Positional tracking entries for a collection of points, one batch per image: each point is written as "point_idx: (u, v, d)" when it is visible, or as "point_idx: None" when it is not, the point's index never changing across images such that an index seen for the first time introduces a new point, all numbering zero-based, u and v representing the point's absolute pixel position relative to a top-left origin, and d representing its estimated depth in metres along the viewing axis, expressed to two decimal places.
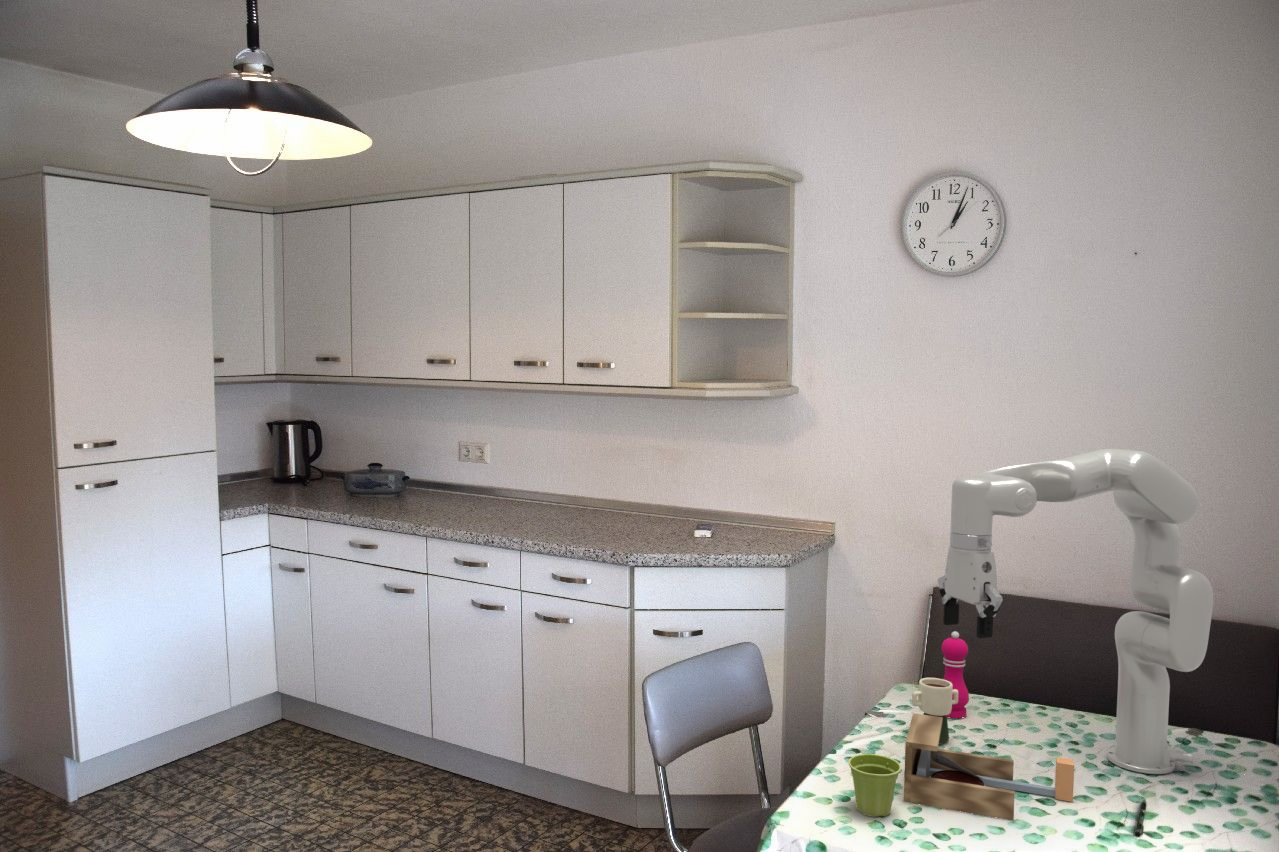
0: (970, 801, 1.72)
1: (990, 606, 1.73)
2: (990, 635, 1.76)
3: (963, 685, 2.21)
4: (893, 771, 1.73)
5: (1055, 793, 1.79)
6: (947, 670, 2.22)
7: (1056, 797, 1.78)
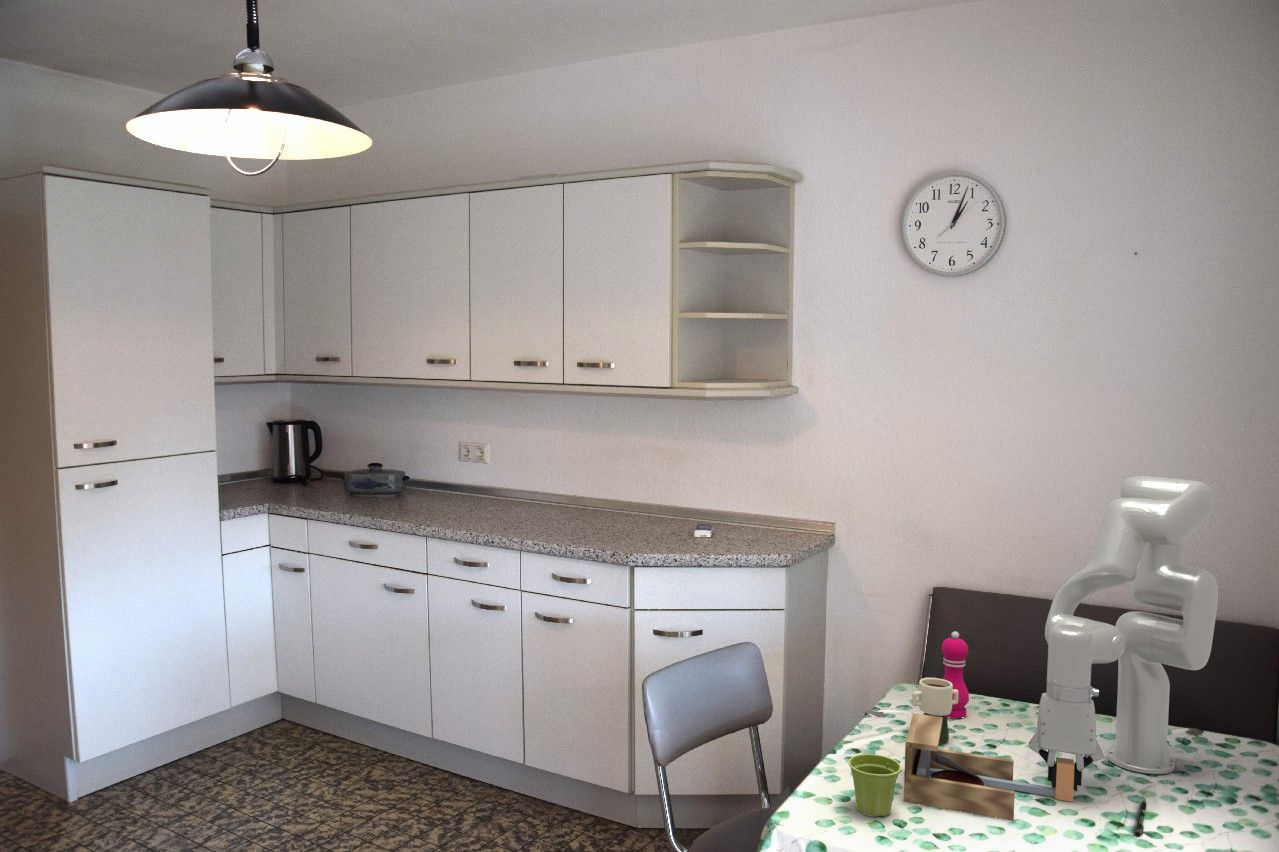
0: (970, 801, 1.72)
1: (1090, 758, 1.77)
2: None
3: (963, 685, 2.21)
4: (893, 771, 1.73)
5: (1055, 793, 1.79)
6: (947, 670, 2.22)
7: (1056, 797, 1.78)
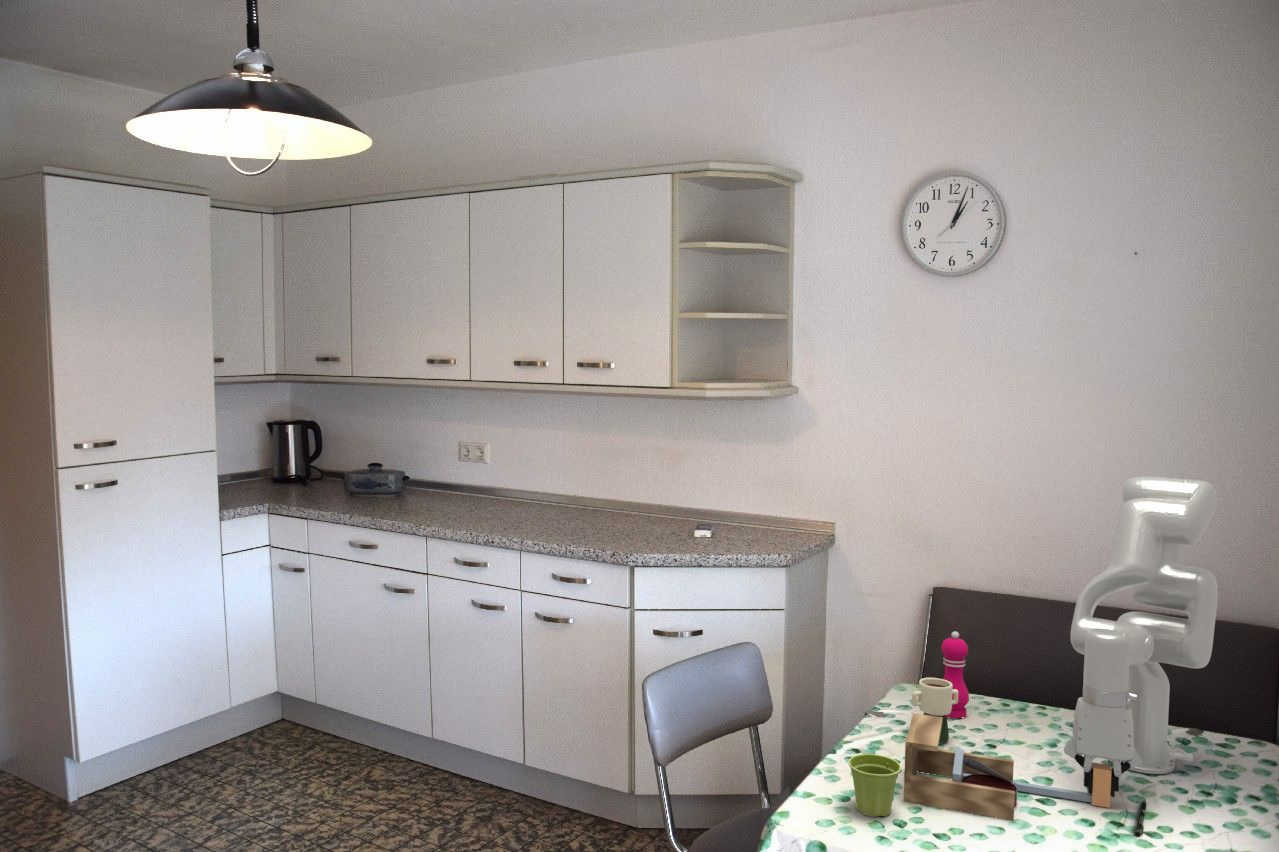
0: (970, 801, 1.72)
1: (1127, 764, 1.74)
2: None
3: (963, 685, 2.21)
4: (893, 771, 1.73)
5: (1091, 799, 1.77)
6: (947, 670, 2.22)
7: (1093, 803, 1.76)
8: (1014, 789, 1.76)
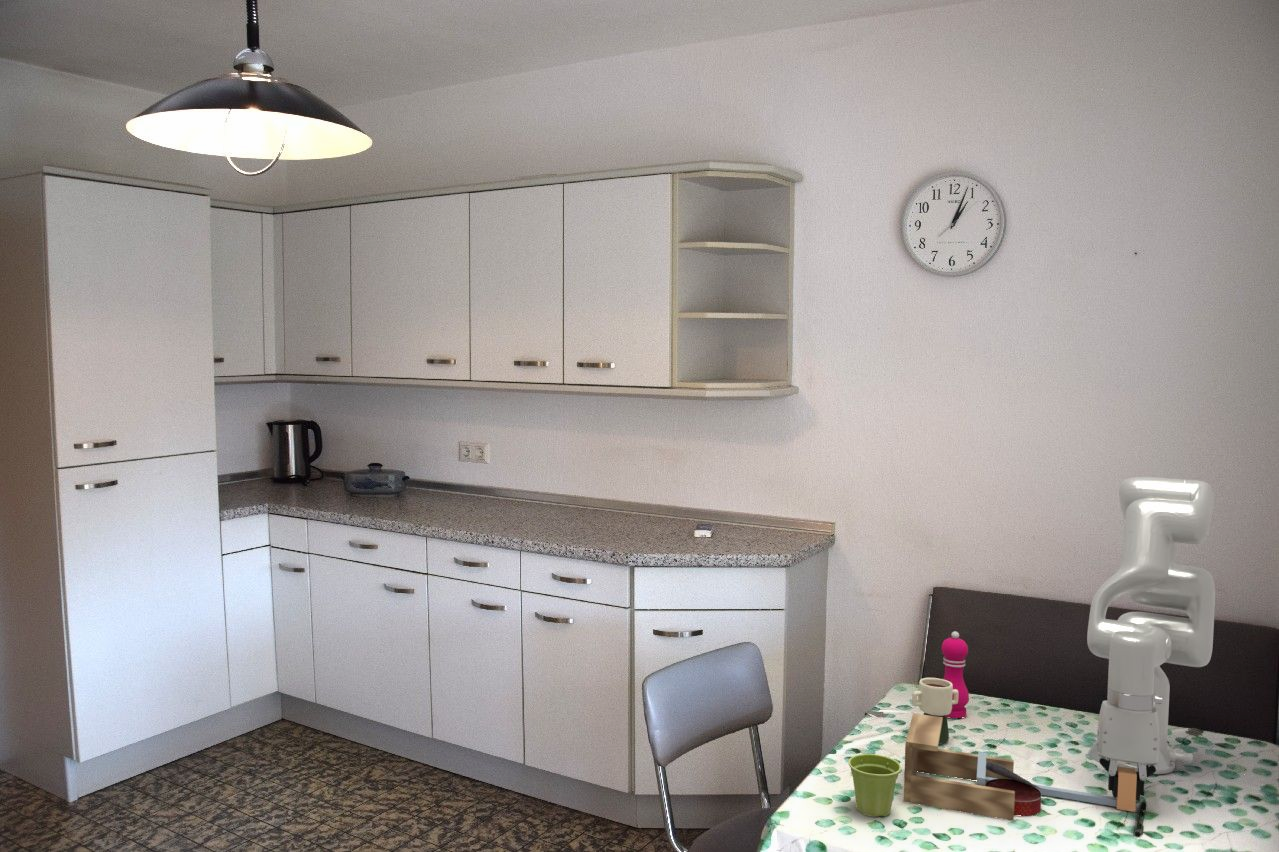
0: (970, 801, 1.72)
1: (1153, 768, 1.73)
2: None
3: (963, 685, 2.21)
4: (893, 771, 1.73)
5: (1116, 803, 1.75)
6: (947, 670, 2.22)
7: (1118, 807, 1.75)
8: (1038, 794, 1.75)
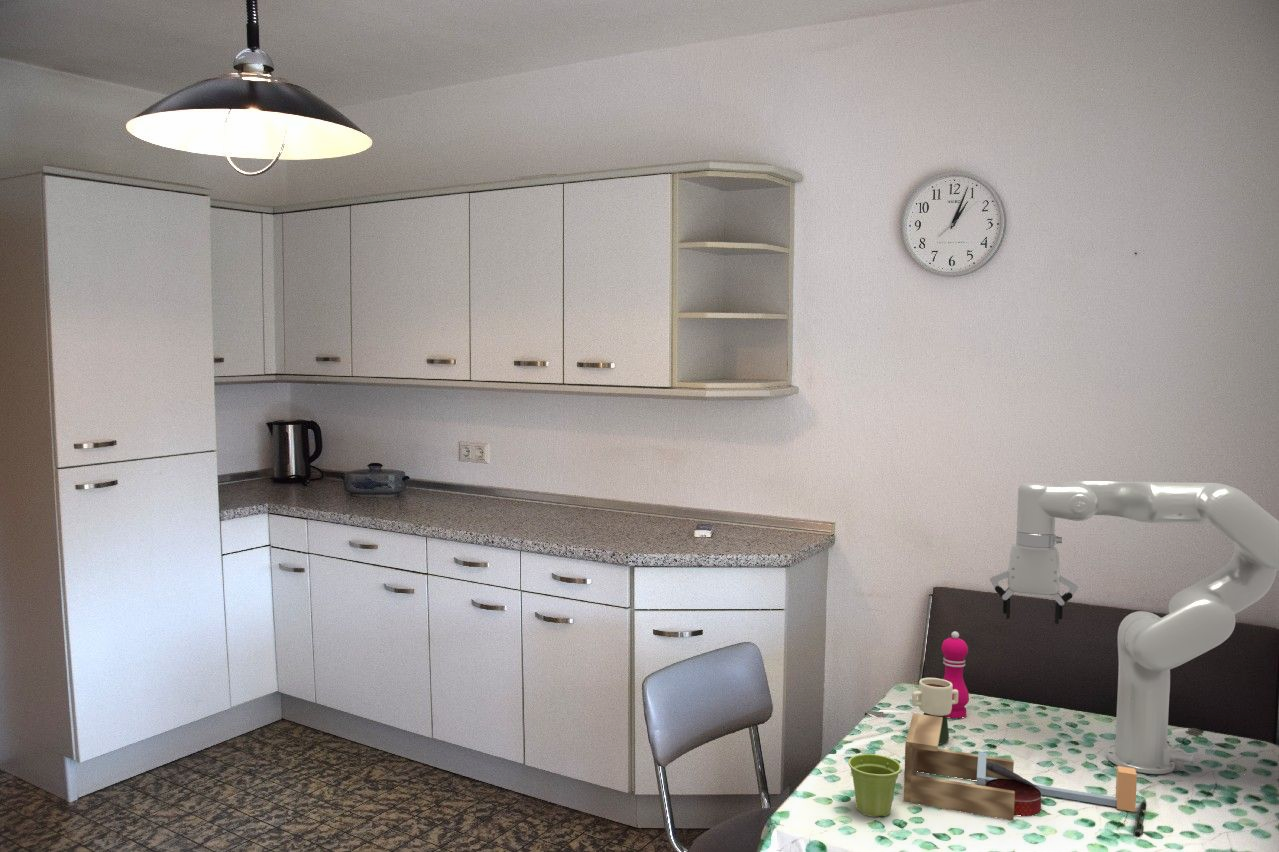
0: (970, 801, 1.72)
1: (1070, 594, 1.98)
2: None
3: (963, 685, 2.21)
4: (893, 771, 1.73)
5: (1117, 803, 1.75)
6: (947, 670, 2.22)
7: (1118, 807, 1.75)
8: (1038, 794, 1.75)
